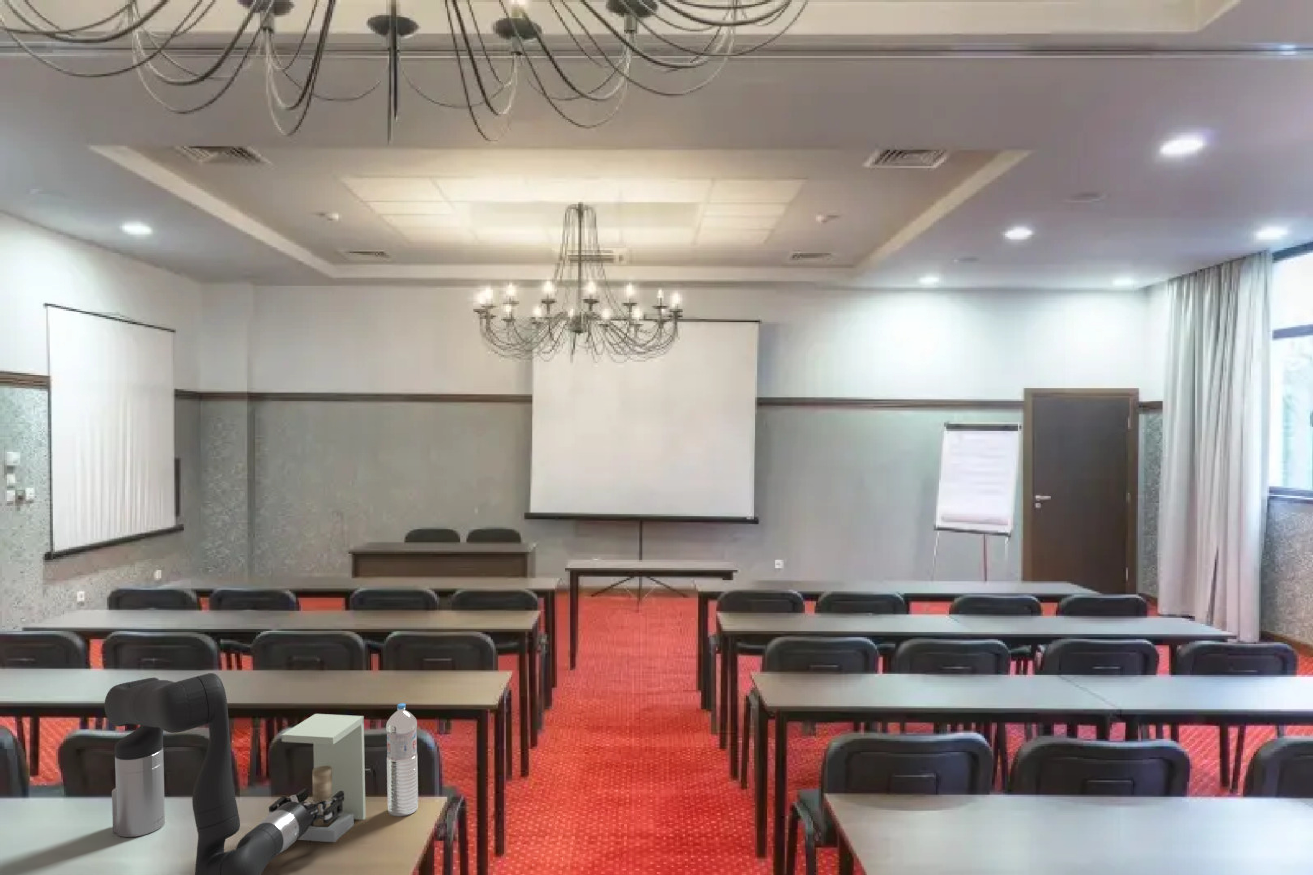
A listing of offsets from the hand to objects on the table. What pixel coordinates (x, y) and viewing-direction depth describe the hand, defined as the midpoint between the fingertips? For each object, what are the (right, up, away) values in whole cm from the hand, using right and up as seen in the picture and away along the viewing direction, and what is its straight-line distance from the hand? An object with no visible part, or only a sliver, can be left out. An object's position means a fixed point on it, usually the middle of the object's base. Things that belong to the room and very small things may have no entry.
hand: (324, 794), depth 188 cm
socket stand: (0, -8, 0) cm, 8 cm away
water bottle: (+15, -8, +9) cm, 19 cm away
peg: (0, -8, 0) cm, 8 cm away
